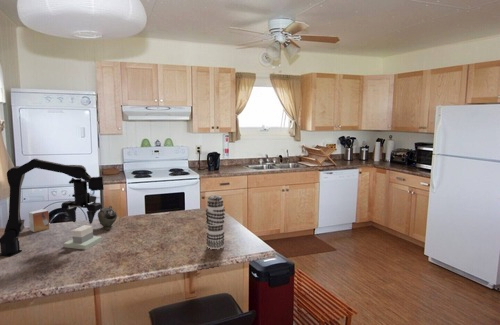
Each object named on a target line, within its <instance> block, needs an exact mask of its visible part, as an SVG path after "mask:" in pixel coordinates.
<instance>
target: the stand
mask: <svg viewBox="0 0 500 325" xmlns="http://www.w3.org/2000/svg"><path fill="white" fill-rule="evenodd" d="M102 241H103V237H102V236H97V235H93V238H91V239H90V240H88V241H86V242H84V243H74V242H73V238H72V239H69V240H68V241H66V242H64V243H63V247H64V248H69V249H77V250H78V249H79V250H84V251H85V250H88V249H89V248H92V247H93V246H95V245H97V244H99V243H101V242H102Z"/></svg>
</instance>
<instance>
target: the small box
mask: <svg viewBox="0 0 500 325" xmlns="http://www.w3.org/2000/svg"><path fill="white" fill-rule="evenodd" d="M49 215H50V212H49V210H48V209H45V208H43V209H39V210H33V211H29V212H28V219H29V231H31V232H33V233H36V232H41V231H45V230H50V216H49Z"/></svg>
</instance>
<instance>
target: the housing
mask: <svg viewBox="0 0 500 325" xmlns="http://www.w3.org/2000/svg"><path fill="white" fill-rule="evenodd" d="M93 236H94V226H93V225H87V224H86V225H85V224H84V225H81V226H79V227H77V228H75V229H72V239H73V242H74V243H84V242H86V241H88V240H90V239H91V238H93Z"/></svg>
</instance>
